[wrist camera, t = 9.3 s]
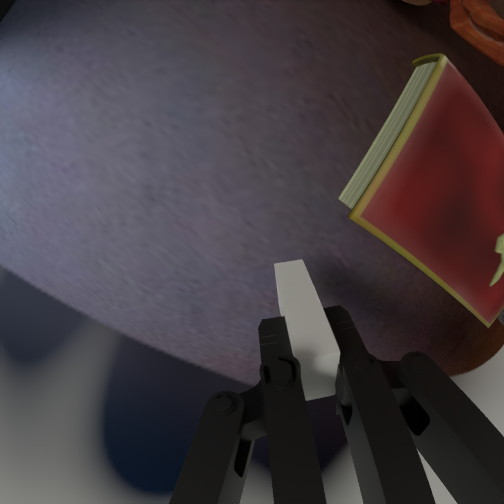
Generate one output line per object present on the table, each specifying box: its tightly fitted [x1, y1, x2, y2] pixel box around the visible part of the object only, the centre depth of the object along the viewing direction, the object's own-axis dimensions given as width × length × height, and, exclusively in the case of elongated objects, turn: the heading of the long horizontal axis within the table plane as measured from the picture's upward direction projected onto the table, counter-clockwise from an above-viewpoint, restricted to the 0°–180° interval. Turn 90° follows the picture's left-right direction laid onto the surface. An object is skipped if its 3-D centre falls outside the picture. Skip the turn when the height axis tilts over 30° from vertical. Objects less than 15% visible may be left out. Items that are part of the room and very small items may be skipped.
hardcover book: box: [338, 53, 504, 328], centre depth 15 cm, size 12×21×4 cm, turn 61°
